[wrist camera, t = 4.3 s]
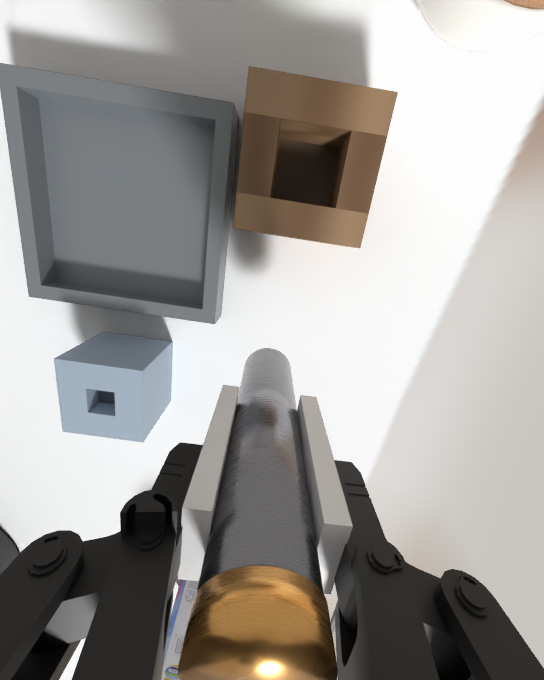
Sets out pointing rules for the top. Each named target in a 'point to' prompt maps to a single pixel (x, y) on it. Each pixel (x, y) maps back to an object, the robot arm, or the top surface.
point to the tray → (120, 192)
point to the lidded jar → (483, 22)
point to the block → (114, 385)
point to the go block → (310, 156)
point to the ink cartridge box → (178, 628)
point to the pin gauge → (261, 549)
